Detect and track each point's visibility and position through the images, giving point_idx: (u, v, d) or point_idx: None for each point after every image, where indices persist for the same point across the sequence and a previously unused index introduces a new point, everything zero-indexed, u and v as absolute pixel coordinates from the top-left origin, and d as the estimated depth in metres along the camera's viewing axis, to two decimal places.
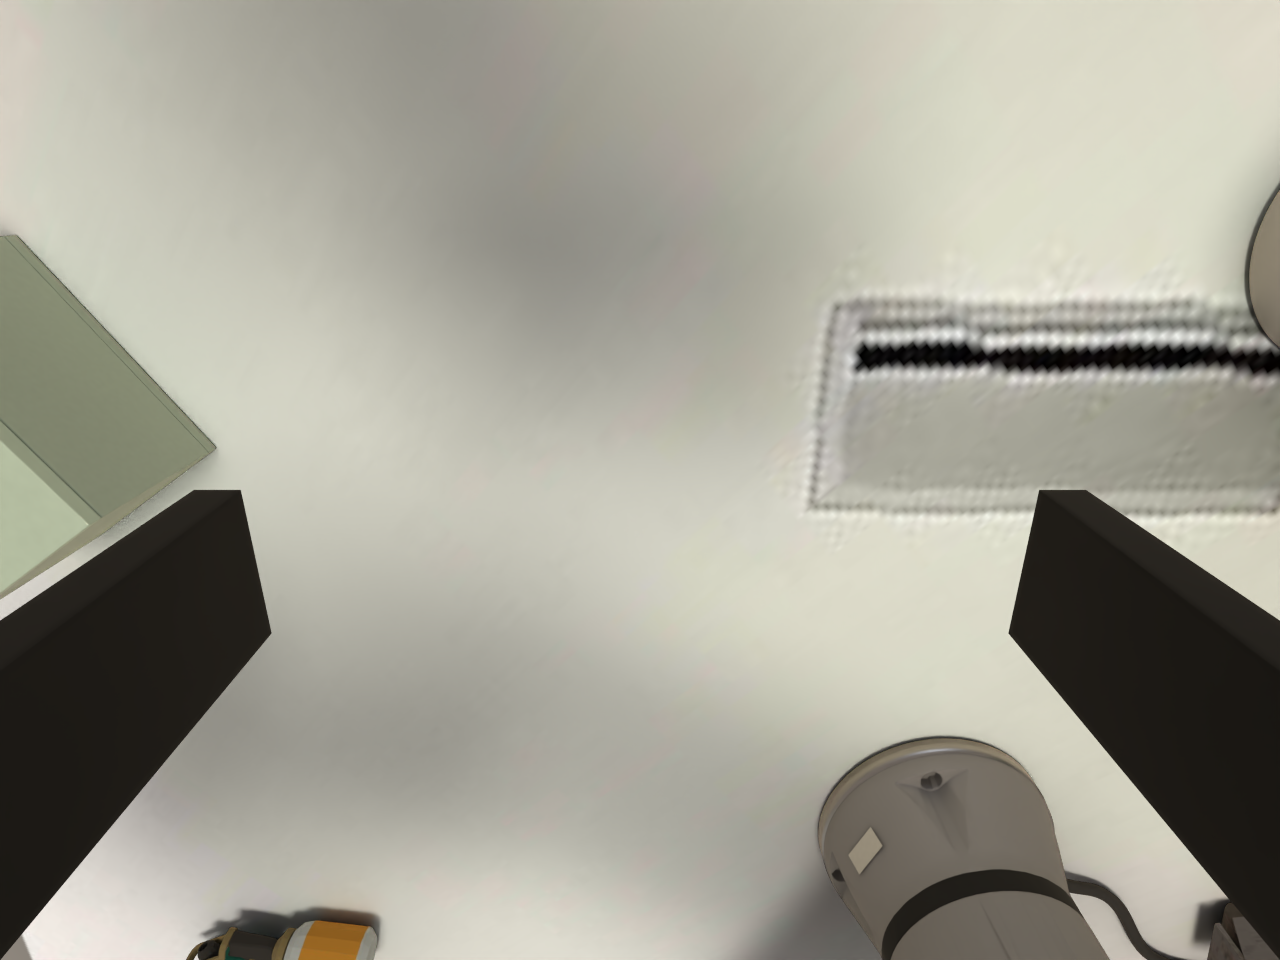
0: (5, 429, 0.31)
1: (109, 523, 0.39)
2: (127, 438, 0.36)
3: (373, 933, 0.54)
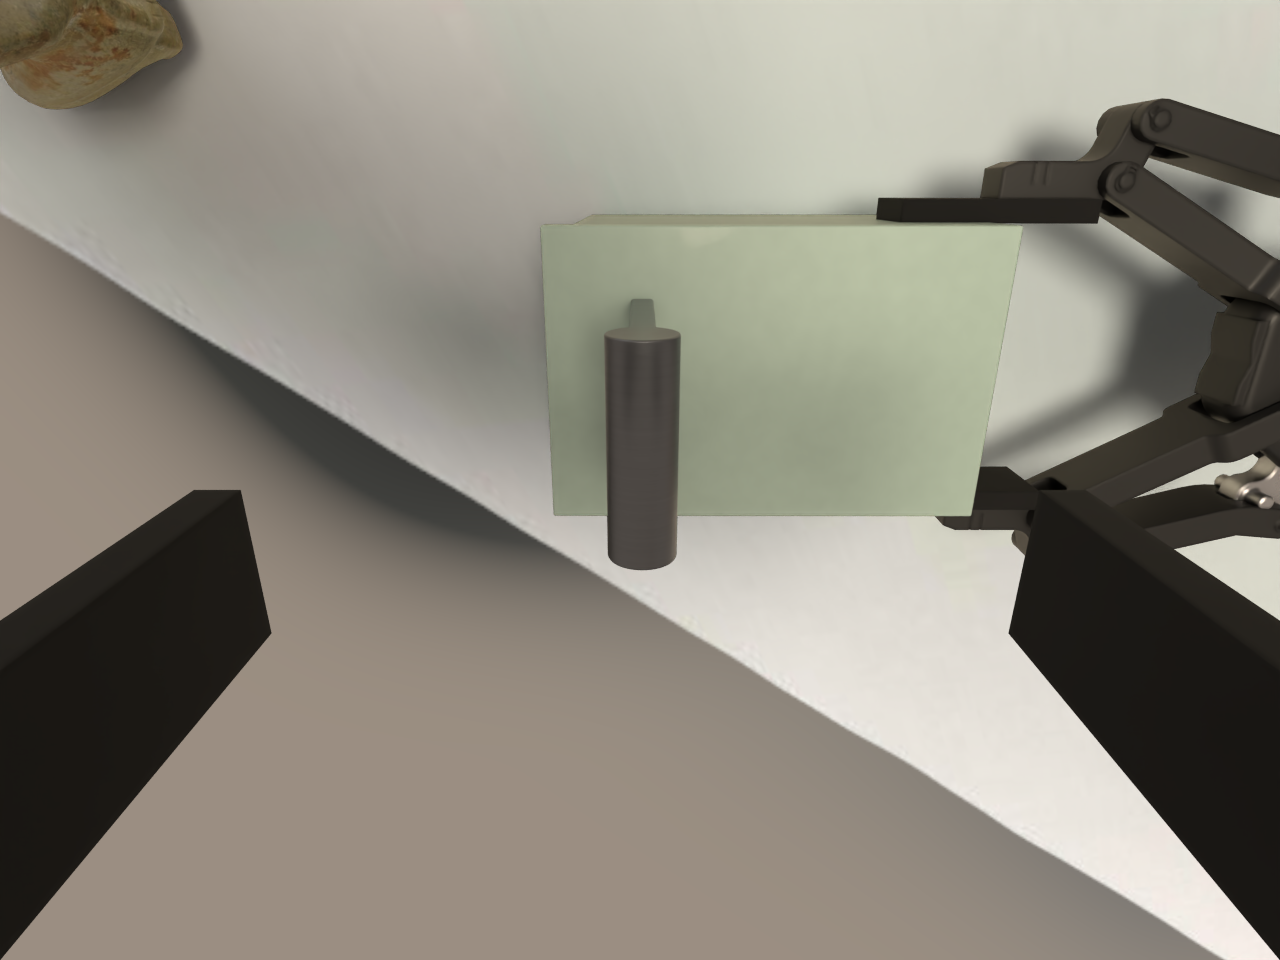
0: None
1: None
2: None
3: None
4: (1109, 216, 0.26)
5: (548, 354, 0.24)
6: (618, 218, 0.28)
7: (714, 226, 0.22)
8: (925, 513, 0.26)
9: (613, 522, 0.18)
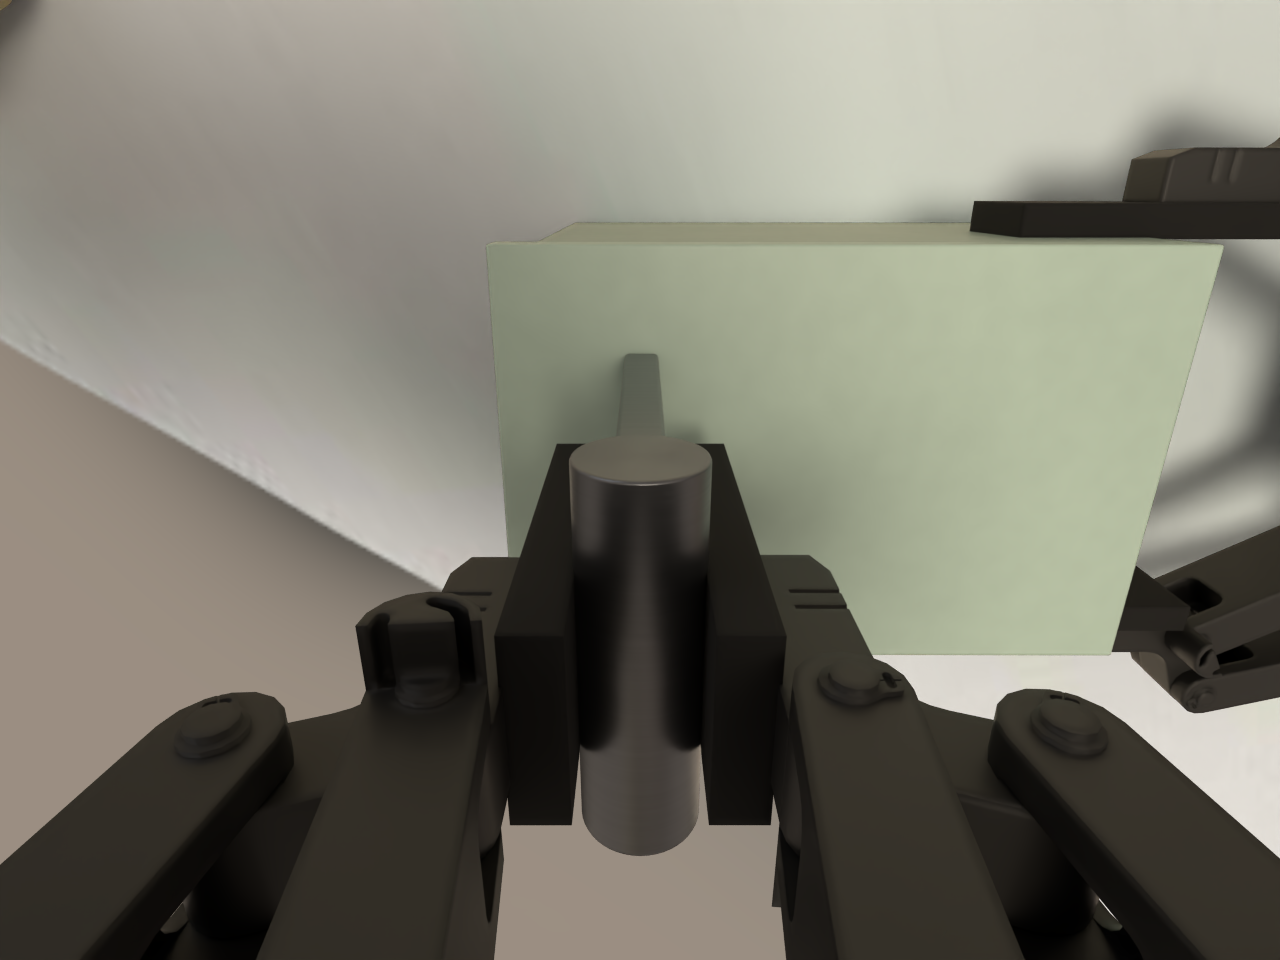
0: None
1: None
2: None
3: None
4: None
5: (502, 433, 0.16)
6: (608, 229, 0.20)
7: (750, 246, 0.15)
8: (1045, 652, 0.18)
9: (589, 774, 0.10)
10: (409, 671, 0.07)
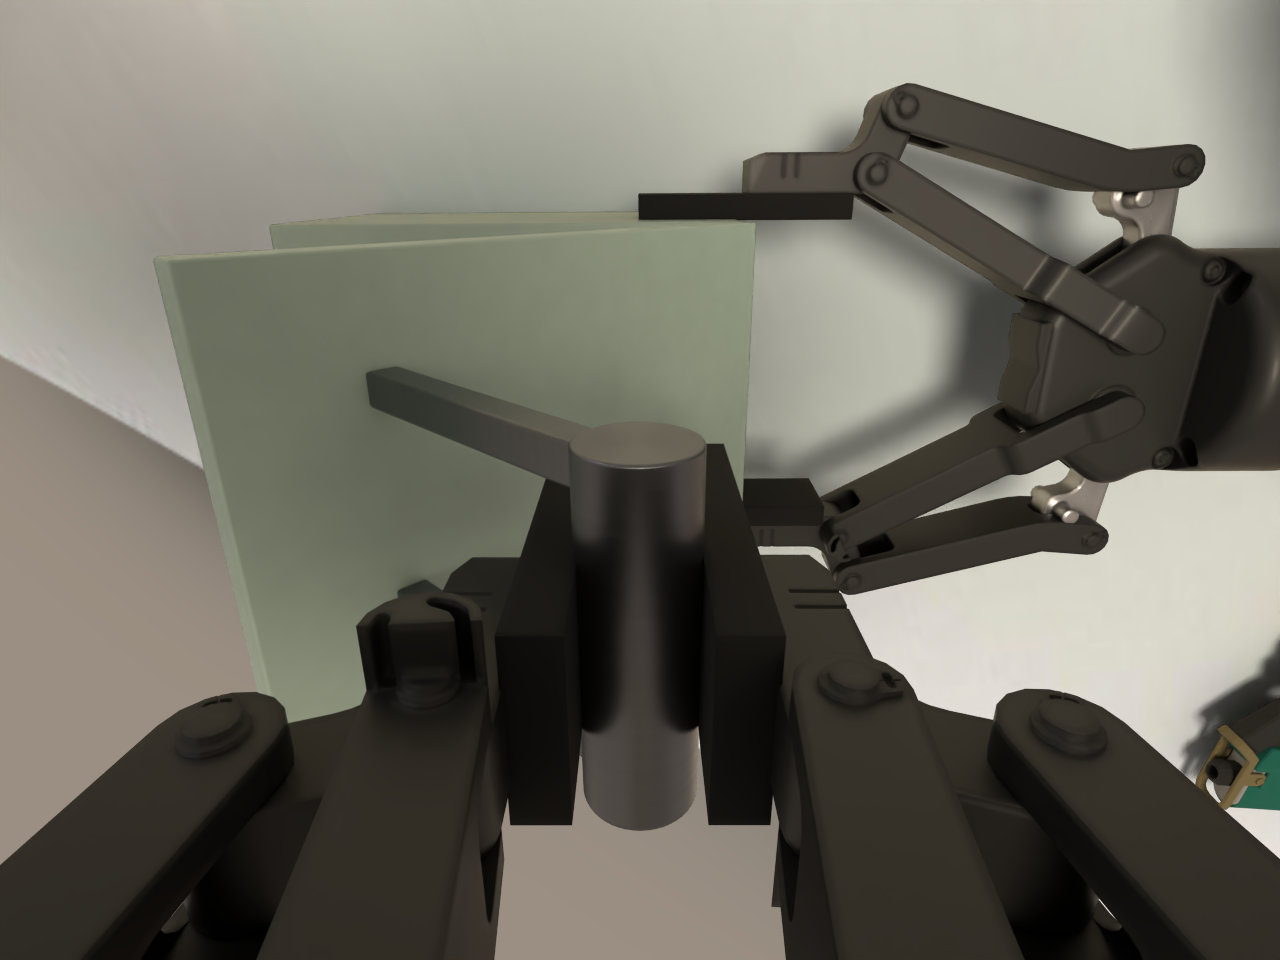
0: None
1: None
2: None
3: None
4: (882, 211, 0.24)
5: (228, 500, 0.12)
6: (370, 217, 0.26)
7: (469, 242, 0.14)
8: None
9: (631, 769, 0.10)
10: (410, 672, 0.07)
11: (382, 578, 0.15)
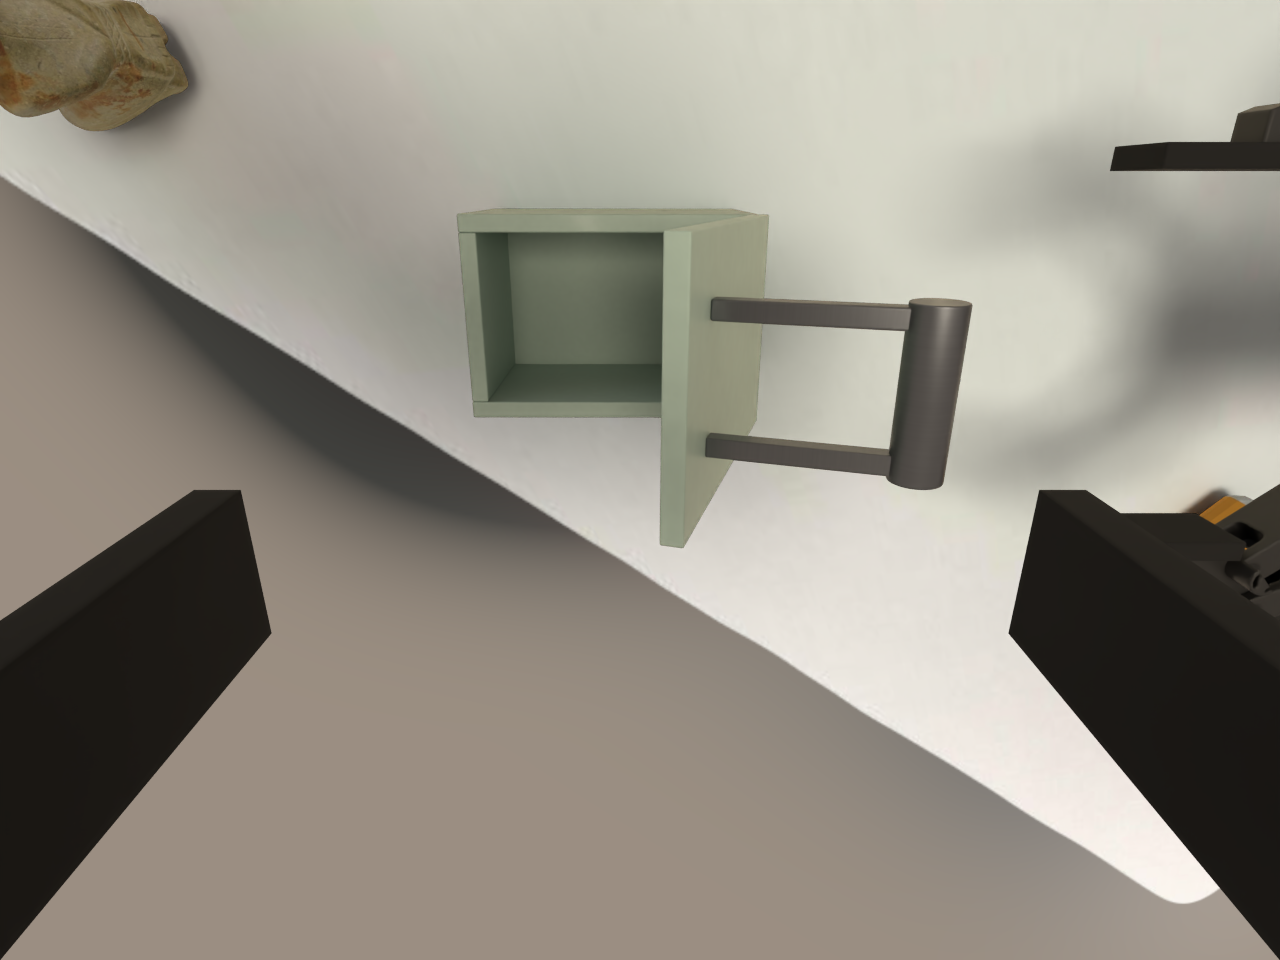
0: None
1: None
2: None
3: None
4: None
5: (688, 372, 0.21)
6: None
7: (728, 224, 0.25)
8: (750, 428, 0.35)
9: (937, 455, 0.22)
10: None
11: (704, 429, 0.24)
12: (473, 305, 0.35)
